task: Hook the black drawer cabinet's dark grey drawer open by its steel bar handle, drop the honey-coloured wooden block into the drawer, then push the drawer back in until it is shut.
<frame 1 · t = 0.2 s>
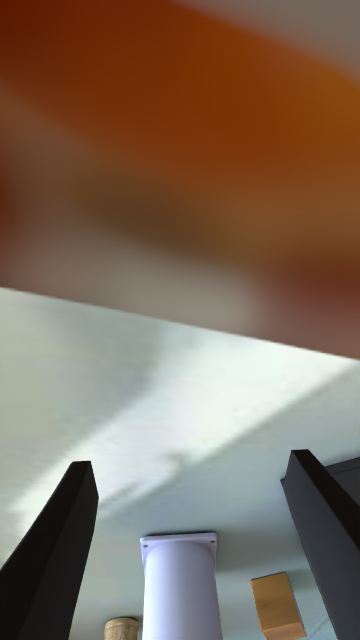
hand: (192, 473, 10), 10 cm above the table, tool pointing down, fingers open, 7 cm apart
sprinkles bottle: (122, 621, 39), on the table
black drawer cabinet: (354, 504, 29), on the table
block: (271, 583, 36), on the table
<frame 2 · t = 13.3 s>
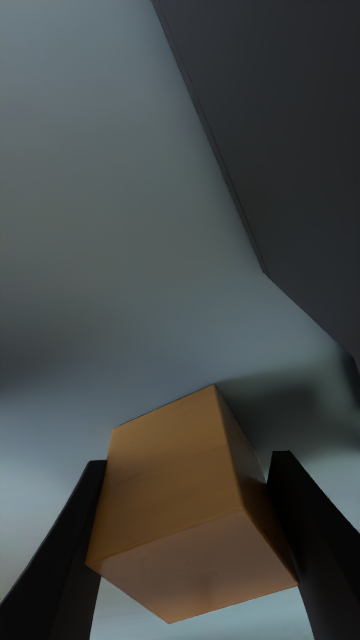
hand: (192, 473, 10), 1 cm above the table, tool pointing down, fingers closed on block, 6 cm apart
block: (188, 441, 12), on the table, touching gripper
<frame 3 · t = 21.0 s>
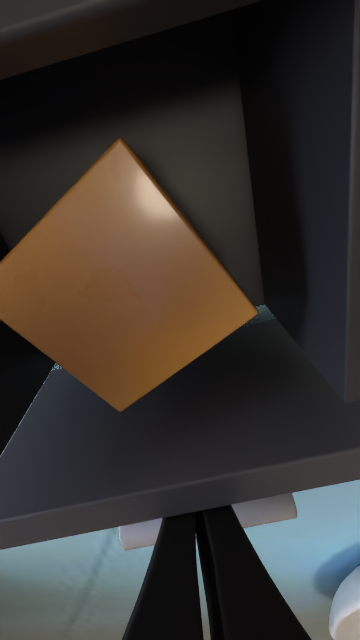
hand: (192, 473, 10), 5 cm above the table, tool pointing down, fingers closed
dark grey drawer: (146, 320, 9), point 4 cm above the table, slide at 7.9 cm, touching block, gripper
block: (137, 256, 10), point 2 cm above the table, touching dark grey drawer
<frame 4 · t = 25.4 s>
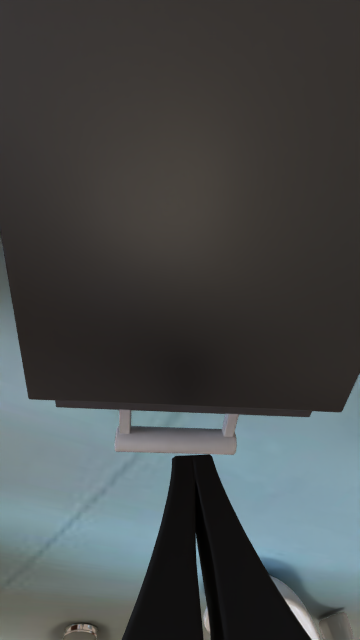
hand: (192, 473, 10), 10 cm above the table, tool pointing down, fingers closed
spoon rest: (278, 591, 38), on the table
black drawer cabinet: (194, 196, 16), on the table
cup with straw: (83, 627, 40), on the table
dark grey drawer: (191, 298, 14), point 4 cm above the table, slide at 0.0 cm, touching block
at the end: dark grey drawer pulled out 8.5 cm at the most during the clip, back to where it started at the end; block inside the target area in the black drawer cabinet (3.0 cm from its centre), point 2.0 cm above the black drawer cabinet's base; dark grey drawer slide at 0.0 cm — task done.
